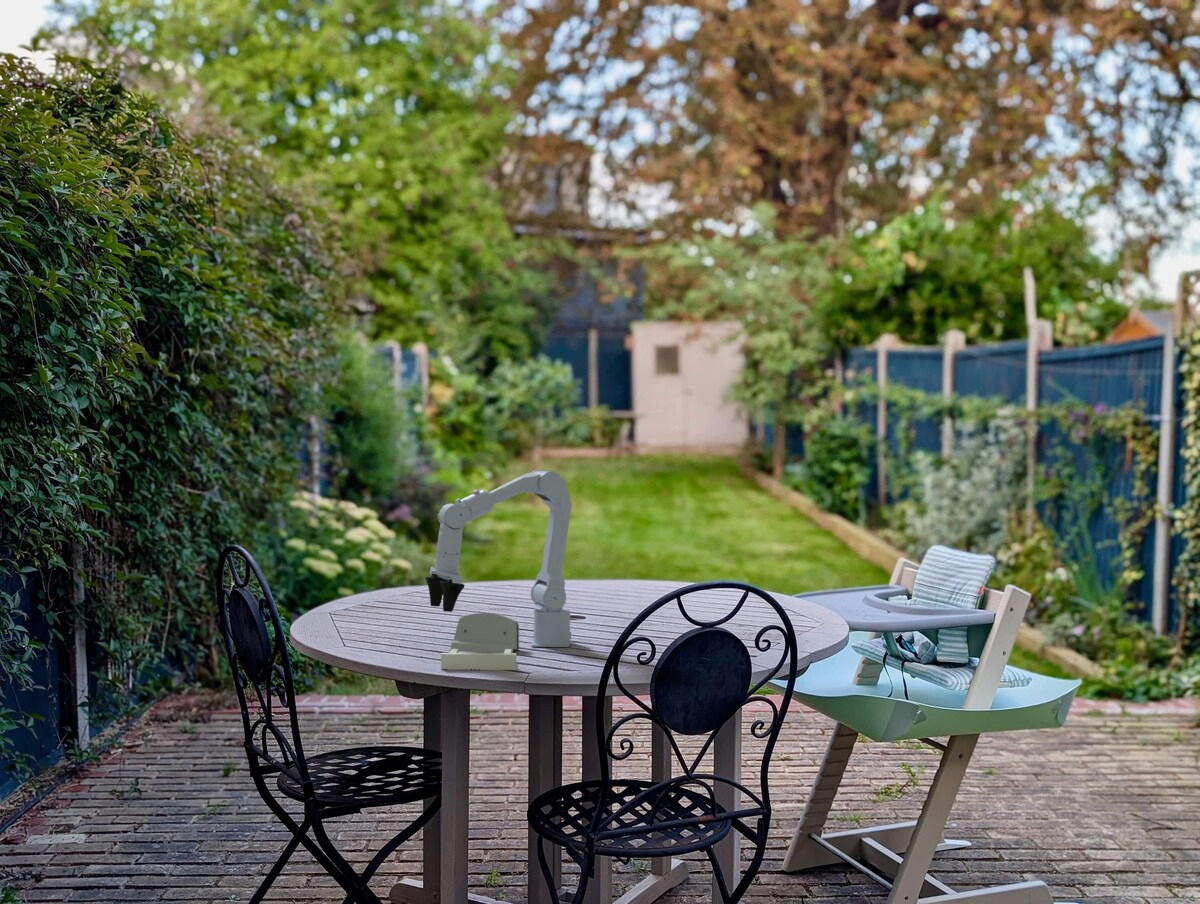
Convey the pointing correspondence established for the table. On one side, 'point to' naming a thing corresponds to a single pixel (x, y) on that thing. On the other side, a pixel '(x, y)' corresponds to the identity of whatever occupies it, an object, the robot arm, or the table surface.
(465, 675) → the table surface
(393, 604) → the table surface
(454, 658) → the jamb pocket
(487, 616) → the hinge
